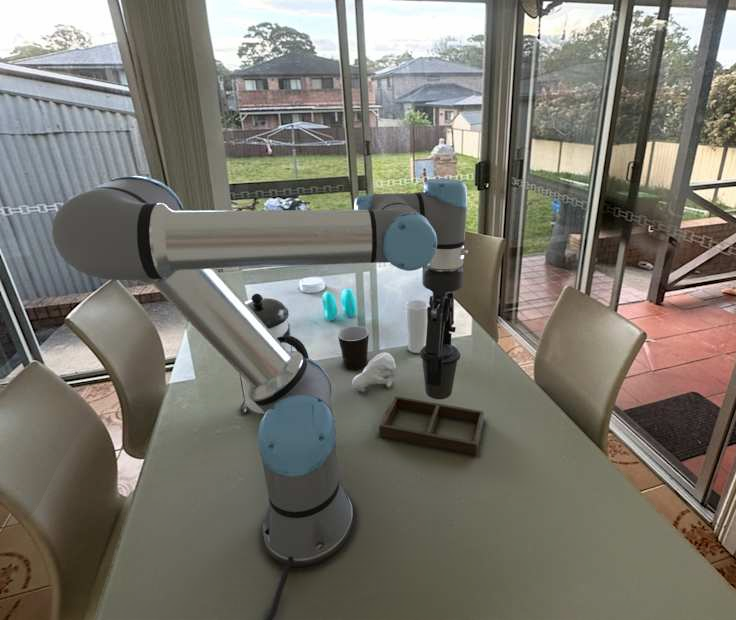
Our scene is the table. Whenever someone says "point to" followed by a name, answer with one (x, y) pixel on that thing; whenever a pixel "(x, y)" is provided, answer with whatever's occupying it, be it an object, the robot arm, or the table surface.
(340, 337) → the coffee mug
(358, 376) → the white lumpy figurine
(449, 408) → the frame
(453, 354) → the coffee cup
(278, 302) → the coffee press
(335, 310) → the cyan wheel pair
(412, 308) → the drinking glass
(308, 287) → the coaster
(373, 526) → the table surface
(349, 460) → the table surface
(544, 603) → the table surface
